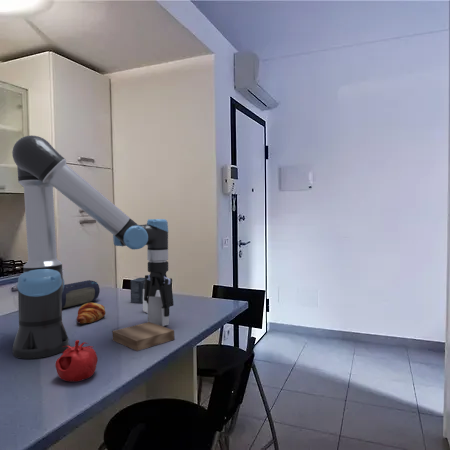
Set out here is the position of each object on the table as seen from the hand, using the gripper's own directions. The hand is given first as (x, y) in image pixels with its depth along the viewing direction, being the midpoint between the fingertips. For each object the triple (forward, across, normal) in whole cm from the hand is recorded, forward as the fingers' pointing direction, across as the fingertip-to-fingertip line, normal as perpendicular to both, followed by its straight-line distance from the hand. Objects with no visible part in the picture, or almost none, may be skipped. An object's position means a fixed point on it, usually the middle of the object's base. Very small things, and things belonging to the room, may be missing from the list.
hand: (158, 322), depth 140 cm
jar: (+1, +17, -10) cm, 20 cm away
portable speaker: (+1, +52, +8) cm, 53 cm away
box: (+1, +36, -16) cm, 39 cm away
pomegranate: (+1, -22, +41) cm, 47 cm away
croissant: (+1, +25, +13) cm, 28 cm away
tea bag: (+1, 0, 0) cm, 1 cm away
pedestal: (0, -11, +14) cm, 18 cm away
